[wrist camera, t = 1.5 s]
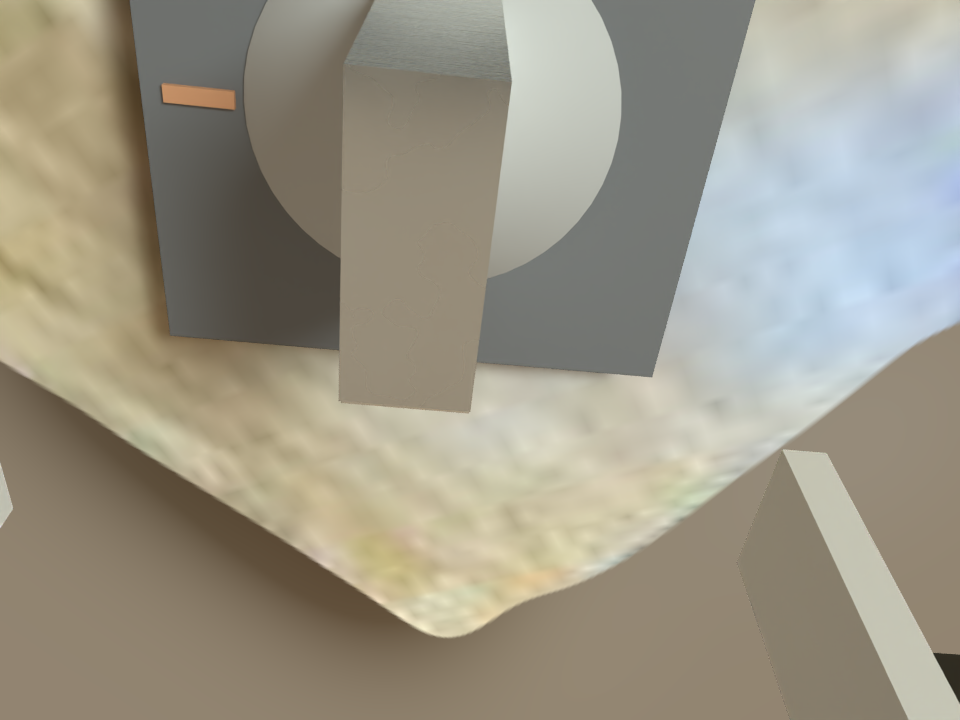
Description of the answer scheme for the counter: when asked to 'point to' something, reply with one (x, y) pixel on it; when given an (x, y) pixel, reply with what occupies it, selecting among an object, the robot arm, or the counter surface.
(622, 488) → the counter surface
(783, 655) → the robot arm
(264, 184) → the dial plate
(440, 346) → the dial handle
